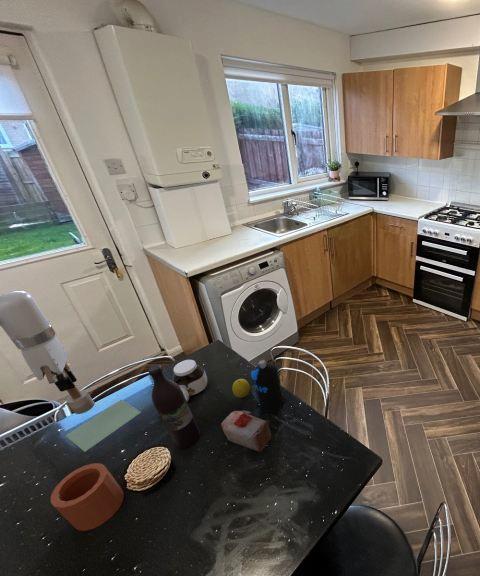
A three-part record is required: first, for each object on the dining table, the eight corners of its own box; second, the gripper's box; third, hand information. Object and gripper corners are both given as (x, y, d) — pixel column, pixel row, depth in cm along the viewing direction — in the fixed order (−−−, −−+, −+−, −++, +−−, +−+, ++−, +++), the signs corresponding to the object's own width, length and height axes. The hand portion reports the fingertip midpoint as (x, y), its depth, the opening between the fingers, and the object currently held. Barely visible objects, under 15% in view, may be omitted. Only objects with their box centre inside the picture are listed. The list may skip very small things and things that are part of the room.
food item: (222, 442, 96) (214, 421, 92) (240, 421, 103) (233, 401, 98) (259, 456, 93) (252, 435, 88) (275, 433, 99) (270, 412, 95)
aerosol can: (277, 391, 114) (268, 349, 104) (288, 404, 109) (279, 362, 99) (256, 404, 109) (243, 361, 99) (266, 418, 104) (255, 375, 94)
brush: (93, 409, 95) (69, 373, 87) (72, 416, 92) (46, 380, 85) (95, 399, 98) (72, 363, 91) (75, 405, 96) (50, 370, 89)
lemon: (232, 401, 110) (226, 385, 106) (240, 389, 115) (236, 373, 111) (246, 403, 110) (241, 387, 106) (254, 391, 114) (250, 375, 110)
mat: (85, 453, 93) (84, 452, 93) (65, 436, 98) (65, 435, 98) (141, 413, 106) (141, 412, 105) (122, 400, 110) (121, 399, 110)
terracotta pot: (86, 539, 74) (63, 516, 69) (65, 517, 78) (42, 493, 73) (132, 498, 82) (114, 474, 77) (111, 480, 86) (93, 456, 81)
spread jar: (209, 378, 120) (201, 355, 114) (208, 400, 111) (199, 376, 105) (173, 388, 115) (163, 364, 110) (169, 411, 106) (157, 387, 101)
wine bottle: (173, 452, 93) (135, 381, 79) (176, 433, 99) (141, 363, 84) (200, 444, 96) (167, 372, 81) (201, 425, 102) (171, 356, 87)
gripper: (23, 325, 86) (57, 374, 95) (3, 359, 74) (45, 410, 83) (59, 317, 89) (89, 365, 98) (46, 347, 78) (81, 398, 87)
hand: (68, 385), depth 91 cm, fingers closed on brush
